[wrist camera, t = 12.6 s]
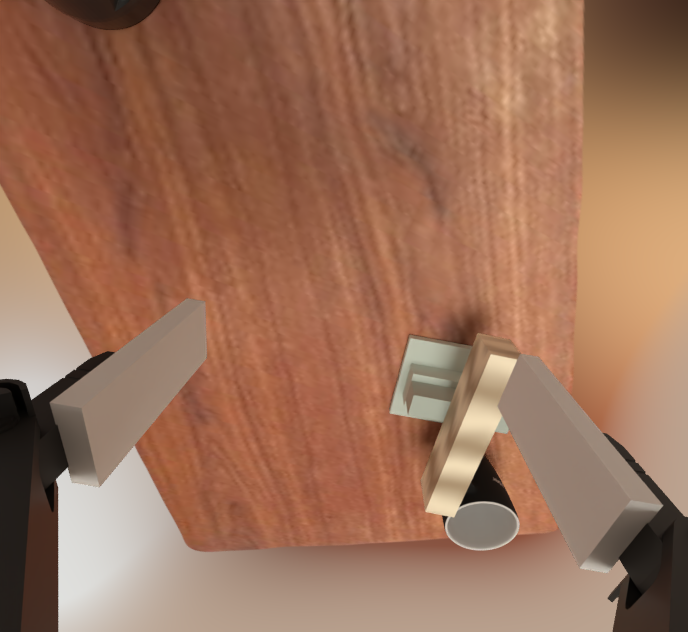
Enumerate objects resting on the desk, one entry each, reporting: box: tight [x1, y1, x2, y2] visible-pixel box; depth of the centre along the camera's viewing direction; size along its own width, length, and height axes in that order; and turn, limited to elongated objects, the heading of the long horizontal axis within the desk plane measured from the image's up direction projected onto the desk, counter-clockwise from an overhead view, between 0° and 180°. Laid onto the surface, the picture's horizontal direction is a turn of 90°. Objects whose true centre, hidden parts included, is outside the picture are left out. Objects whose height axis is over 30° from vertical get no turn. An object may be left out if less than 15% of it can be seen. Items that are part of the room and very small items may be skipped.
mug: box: [442, 455, 519, 550], centre depth 46 cm, size 12×9×10 cm
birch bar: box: [421, 333, 521, 517], centre depth 38 cm, size 22×4×4 cm, turn 169°
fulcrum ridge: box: [389, 335, 509, 434], centre depth 43 cm, size 12×14×6 cm
